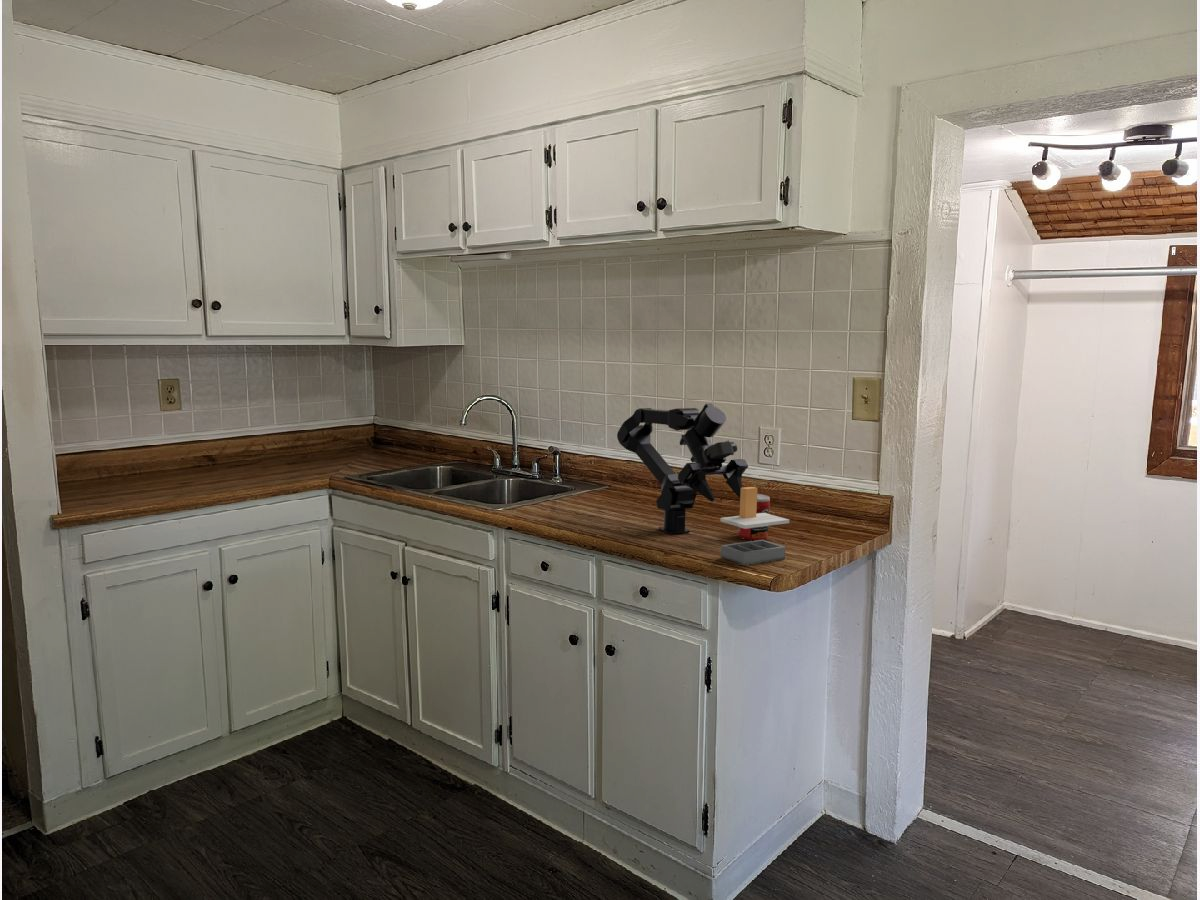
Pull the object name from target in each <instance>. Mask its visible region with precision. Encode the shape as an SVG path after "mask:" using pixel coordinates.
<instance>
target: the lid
mask: <svg viewBox="0 0 1200 900" xmlns="http://www.w3.org/2000/svg"><path fill="white" fill-rule="evenodd" d="M757 494H758V487H754V486H746V487H743V486H742V488H741V494H740V498H739V505H740V514H739V513H738V515H734V516H727V517H720V522H722V523H725V524H728V525H731V526H735V527H741V528H744V529H747V528H755V527H762V526H768V527H769V526H777V525H785V524H790V518H789V519H788V518H785V517H781V516H777V515H774V514H770V513H769V514H767V513H758V514H756V510H757Z"/></svg>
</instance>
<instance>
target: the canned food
mask: <svg viewBox="0 0 1200 900" xmlns="http://www.w3.org/2000/svg"><path fill="white" fill-rule="evenodd" d="M770 505H771V499H770V496H768V495H766V494H761V493H757V510H756V514H758V513H767V514H770V509H771V507H770ZM738 507H739V508H738V510H739V511H738V515H739V514H740V504H739V506H738ZM737 529H738V530H737V531H738V532H737V533H738V537H739V538H740V539H742V538H744V539H743V540H745V539H748V540H747V541H752V540H765V539H766V540H767V539H768V537H769V536H768V535H769V526H762V527H755V528H747V529H744V528H741V527H738V528H737ZM766 540H765V541H766Z"/></svg>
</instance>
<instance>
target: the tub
mask: <svg viewBox="0 0 1200 900" xmlns="http://www.w3.org/2000/svg"><path fill="white" fill-rule="evenodd" d="M720 546H721V547H720V558H721V557H722V558H721V559H723V558H725V559H724V560H726V559H727V560H726V561H728V560H730V561H729V562H731V561H733V562H732V563H734V562H736V563H735V564H737V563H739V564H741V566H742V565H746V566H748V565H747V564H752V565H754V564H753V563H758V564H762V562H765V563H770V562H769V561H771V562H775V561H776V560H777V561H781V560H785V559H786V546H785V545H781V544H777V543H774V542H772V541H768V540H756V541H752V540H748V541H743V542H736V543H730V544H723V545H720ZM739 564H738V565H739Z"/></svg>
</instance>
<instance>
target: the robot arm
mask: <svg viewBox="0 0 1200 900" xmlns="http://www.w3.org/2000/svg"><path fill="white" fill-rule="evenodd" d="M726 421H727V416H726V413H725V412H723V411H722V410H721V409H720V408H718V407H716V406H714V404H713V403H705V404H704V405H703V407H702V409H701V410H700V412H699V409H698V408H696V407H682V408H680V407H679V408H673V409H668V410H667V409H655V408H651V407H643V408H637V409H635V410H634V412H633V414H632V415H631V416H630V417H628V418H627V419H626V420H625V421H623V422H622V424H621V426H620V427H619V429H618V431H617V433H616V438H617V440H618V443H619V444H620V445H621V447H623V448H624V449H625V450H627V451H629V452H632V453H633V454H636V455H637V457H638V458H639V459H640V460H641V462H642V463H643V464H644V465H645V467H647V469H648V470H649V473H651V474H652V475H653V477H654V478H655V479H656V480H657V482H659V484H660V486H661V487H660V495H659V496H658V498H657V499H656V508H657V509H660V510H662V511H663V526H659V527H658V530H660V531H661V532H663V533H666V534H668V535H672V534H673V535H676V534H686V533H687V534H688V533H691V530H689V529H688V528H686V518H687V517H686V513H687V510H689V509H691V510H692V509H694V505H695V501H696V498H697V493H699V494H700V495H701V496H703V497H704V498H705V499H706V500H708V501H709V502H710V503H711V502H714V501H715V497H714V493H713V491H712V490H711V488H710V485H709V483H708V481H707V477H706V476H715V475H716V476H718V475H722V476H723V478H724V479H726V481H725V483H726V484H727V485H728V486H729V488H730V489H731V490H732V492H734V495H736V496H737V497H738V498H739V499H740V494H741V488H743V482H742V476H743V474H744V473H745V472H746V470H747V469H748V468H749V464H748V463H747V462H746V459H743V458H739V459H737V458H736V459H731V460H729V462H728V463H727V464H726V465H723V463H725V462H726V461H727V459H726V458H727V457H729V456H733V455H735V453H736V452H737V451H738V446H737V442H736V441H735V440H734V439H728V440H726V441H720V442H716V443H713V444H712V442H711V440H710V438H714V436H715V435H716V434H717V433H718V431H719V430H720V429H721V428H722V426H723V425H724V424H725V423H726ZM653 424H657V425H665V426H667V427H668V428H670V430H671V429H672V430H674V431H678V432H679V431H686V432H685V433H684V434H681V437H680V440H679V445H680V446H687V448H688V450H689V452H690V454H691V457H690V459H689V460H690V461H691V462H686V463H685V464H684V466H683V467H682V468H681V470H680V471H679V472H678V473H676V472H675V471H674V470H673V468H672V467H671V466H670V465H669V464H668V463H667V462H666V460H665V459H664V458H663V457H662V455H661V454H660V453H659V452H658V451H657V449H655V447H654V446H653V444H652V443H651V434H652V433H653Z"/></svg>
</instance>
